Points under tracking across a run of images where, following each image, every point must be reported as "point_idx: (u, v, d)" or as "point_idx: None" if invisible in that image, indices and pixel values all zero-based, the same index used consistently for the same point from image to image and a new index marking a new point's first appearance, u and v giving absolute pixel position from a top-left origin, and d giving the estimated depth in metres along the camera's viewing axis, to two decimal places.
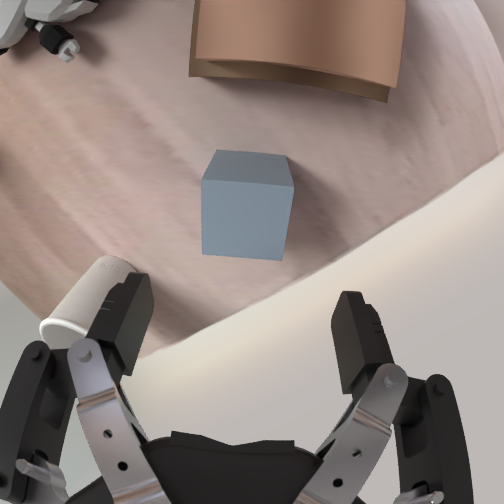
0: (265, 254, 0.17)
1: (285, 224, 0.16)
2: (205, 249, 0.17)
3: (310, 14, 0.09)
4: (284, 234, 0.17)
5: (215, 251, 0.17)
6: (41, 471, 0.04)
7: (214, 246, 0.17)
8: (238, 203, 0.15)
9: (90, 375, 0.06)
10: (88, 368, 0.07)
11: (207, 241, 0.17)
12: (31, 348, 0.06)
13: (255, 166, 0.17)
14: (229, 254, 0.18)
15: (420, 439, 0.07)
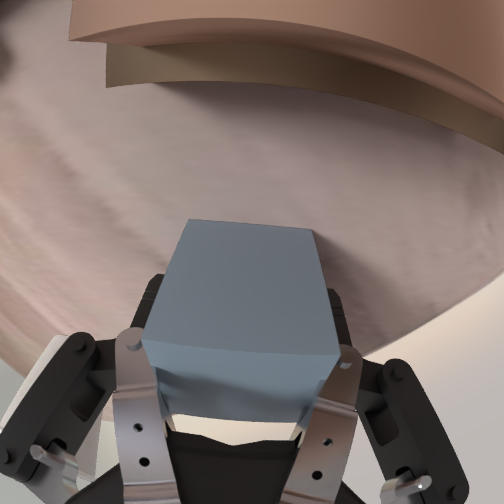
0: (273, 419, 0.09)
1: (311, 395, 0.08)
2: (174, 409, 0.09)
3: None
4: (307, 403, 0.08)
5: (190, 412, 0.09)
6: (55, 460, 0.05)
7: (187, 409, 0.09)
8: (223, 374, 0.07)
9: (143, 363, 0.07)
10: (135, 358, 0.07)
11: (175, 404, 0.09)
12: (75, 340, 0.07)
13: (257, 277, 0.09)
14: (213, 417, 0.09)
15: (390, 423, 0.08)
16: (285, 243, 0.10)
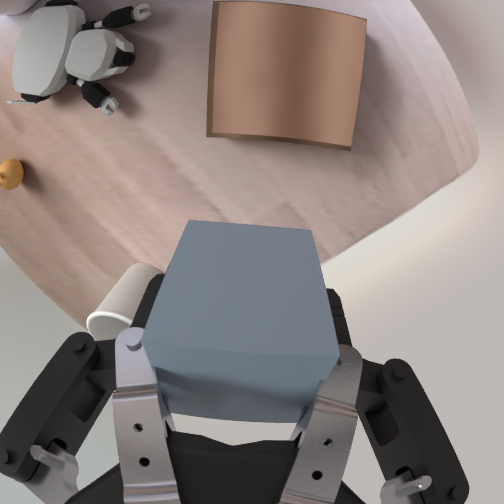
0: (272, 419, 0.09)
1: (311, 395, 0.08)
2: (174, 409, 0.09)
3: (289, 98, 0.17)
4: (307, 403, 0.08)
5: (190, 412, 0.09)
6: (55, 460, 0.05)
7: (187, 409, 0.09)
8: (223, 375, 0.07)
9: (143, 363, 0.07)
10: (135, 359, 0.07)
11: (175, 404, 0.09)
12: (75, 339, 0.07)
13: (257, 278, 0.09)
14: (213, 417, 0.09)
15: (390, 424, 0.08)
16: (285, 244, 0.10)
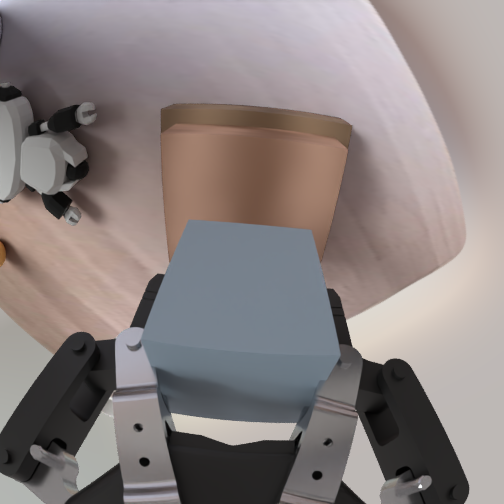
0: (273, 419, 0.09)
1: (311, 395, 0.08)
2: (174, 409, 0.09)
3: None
4: (307, 403, 0.08)
5: (190, 413, 0.09)
6: (55, 460, 0.05)
7: (187, 409, 0.09)
8: (223, 375, 0.07)
9: (143, 363, 0.07)
10: (135, 359, 0.07)
11: (175, 404, 0.09)
12: (75, 339, 0.07)
13: (257, 278, 0.09)
14: (213, 417, 0.09)
15: (390, 424, 0.08)
16: (285, 243, 0.10)
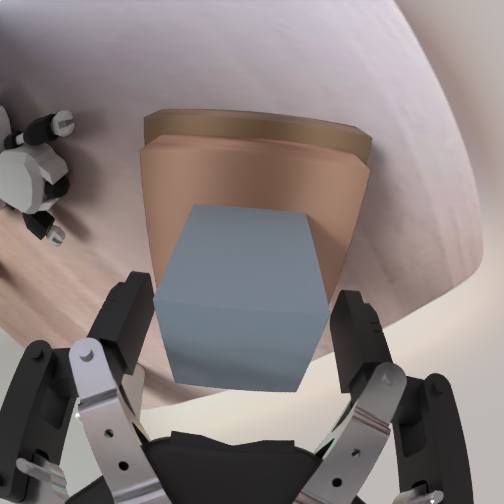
0: (271, 387, 0.10)
1: (306, 359, 0.09)
2: (179, 378, 0.10)
3: None
4: (303, 368, 0.09)
5: (194, 381, 0.10)
6: (41, 471, 0.04)
7: (191, 378, 0.10)
8: (225, 335, 0.08)
9: (92, 375, 0.07)
10: (90, 368, 0.07)
11: (180, 372, 0.10)
12: (33, 348, 0.07)
13: (256, 250, 0.10)
14: (215, 386, 0.10)
15: (419, 438, 0.07)
16: (281, 223, 0.12)
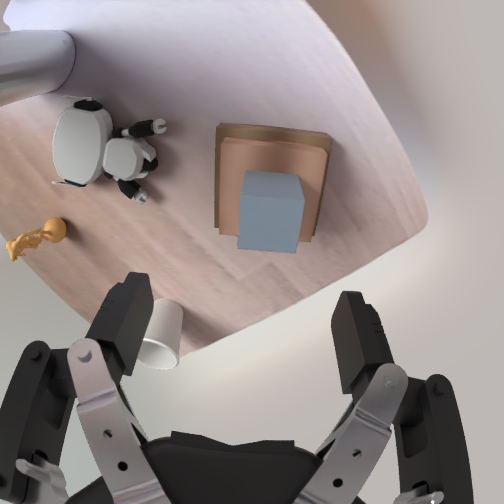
0: (283, 248, 0.24)
1: (298, 226, 0.23)
2: (240, 245, 0.24)
3: None
4: (297, 233, 0.23)
5: (247, 246, 0.24)
6: (41, 471, 0.04)
7: (247, 243, 0.24)
8: (265, 211, 0.22)
9: (90, 375, 0.06)
10: (88, 369, 0.07)
11: (242, 239, 0.24)
12: (31, 348, 0.06)
13: (276, 184, 0.24)
14: (257, 248, 0.24)
15: (420, 439, 0.07)
16: (286, 177, 0.25)
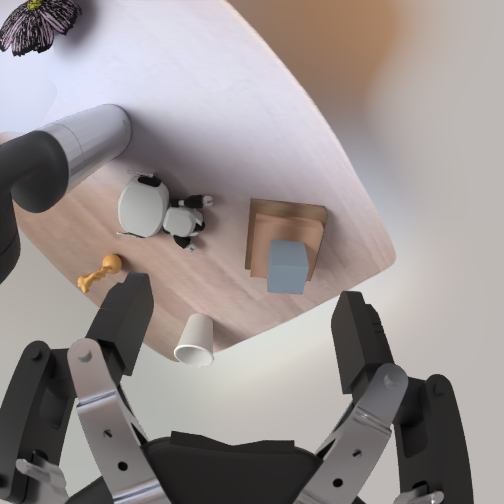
0: (295, 291, 0.40)
1: (304, 280, 0.39)
2: (269, 290, 0.40)
3: None
4: (303, 284, 0.39)
5: (273, 290, 0.40)
6: (41, 471, 0.04)
7: (273, 289, 0.40)
8: (286, 273, 0.38)
9: (90, 375, 0.06)
10: (88, 369, 0.07)
11: (271, 287, 0.39)
12: (31, 349, 0.06)
13: (291, 253, 0.39)
14: (279, 292, 0.40)
15: (420, 439, 0.07)
16: (297, 246, 0.41)
